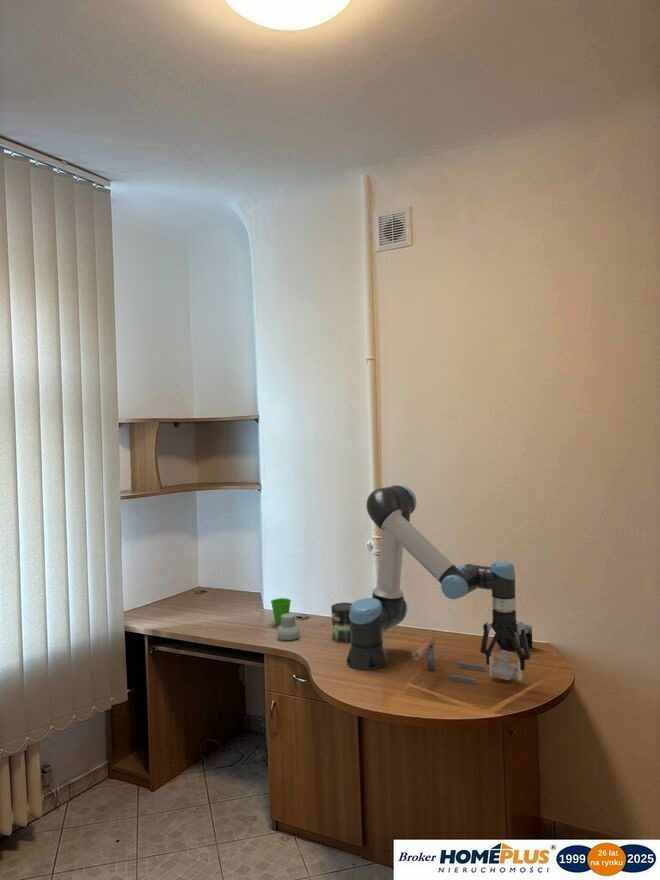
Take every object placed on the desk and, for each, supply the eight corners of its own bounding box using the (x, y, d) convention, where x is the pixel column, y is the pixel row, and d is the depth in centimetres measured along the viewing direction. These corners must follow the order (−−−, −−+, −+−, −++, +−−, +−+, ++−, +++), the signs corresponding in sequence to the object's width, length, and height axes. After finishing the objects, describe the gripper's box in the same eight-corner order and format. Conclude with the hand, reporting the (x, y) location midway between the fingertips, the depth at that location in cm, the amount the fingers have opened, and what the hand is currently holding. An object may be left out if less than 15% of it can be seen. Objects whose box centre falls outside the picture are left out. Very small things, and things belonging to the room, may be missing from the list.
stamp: (523, 678, 200) (522, 653, 200) (512, 684, 195) (511, 658, 195) (499, 670, 206) (498, 646, 206) (488, 676, 202) (487, 651, 202)
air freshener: (298, 643, 245) (297, 619, 245) (277, 644, 245) (277, 619, 245) (299, 634, 256) (298, 610, 256) (279, 635, 256) (278, 611, 256)
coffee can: (339, 646, 240) (338, 611, 240) (327, 639, 249) (326, 605, 249) (362, 641, 245) (361, 607, 244) (349, 634, 254) (348, 601, 253)
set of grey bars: (418, 677, 209) (417, 649, 209) (430, 663, 220) (429, 637, 220) (475, 687, 200) (474, 658, 199) (485, 672, 211) (484, 645, 210)
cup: (294, 627, 265) (293, 602, 265) (274, 630, 262) (273, 605, 261) (288, 621, 273) (287, 597, 273) (269, 624, 270) (268, 599, 270)
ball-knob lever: (426, 640, 216) (426, 633, 216) (436, 641, 214) (436, 634, 214) (409, 661, 197) (408, 653, 197) (419, 662, 196) (419, 655, 196)
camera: (483, 642, 240) (482, 617, 239) (501, 637, 245) (500, 613, 245) (517, 656, 225) (516, 629, 224) (536, 650, 230) (535, 624, 229)
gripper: (469, 608, 202) (471, 675, 203) (535, 616, 192) (537, 687, 193) (475, 602, 209) (477, 667, 209) (539, 609, 199) (541, 678, 199)
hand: (505, 676), depth 201 cm, fingers closed on stamp, 8 cm apart
